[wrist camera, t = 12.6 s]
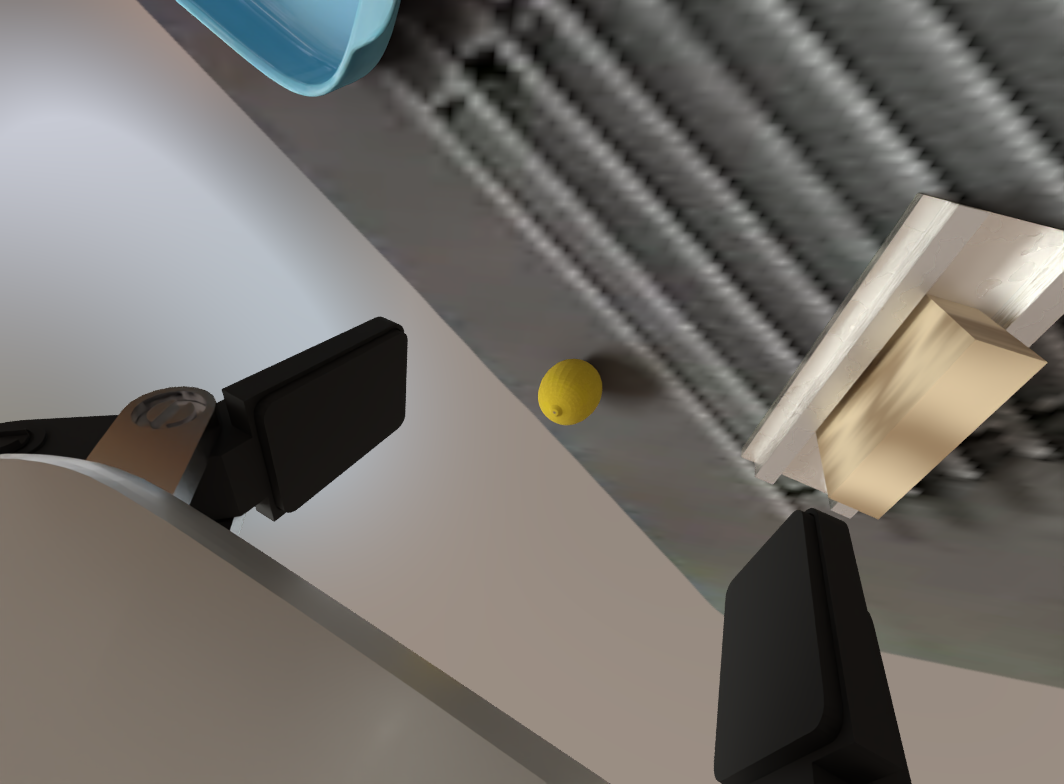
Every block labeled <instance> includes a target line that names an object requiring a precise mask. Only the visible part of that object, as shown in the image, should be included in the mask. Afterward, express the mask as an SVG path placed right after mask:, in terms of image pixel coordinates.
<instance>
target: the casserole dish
mask: <svg viewBox="0 0 1064 784" xmlns="http://www.w3.org/2000/svg"><path fill="white" fill-rule="evenodd" d="M176 1H177V2H178V3H179V4H180V5H182V6H183V7H184V8H185V9H186V10H188V11H189V12H190V13H191V14H192V15H193V16H195V17H196V18H197V19H198V20H199V21H201V22H202V23H203V24H204V25H205V26H206V27H208V28H209V29H210V30H211V31H212V32H213V33H215V34H216V35H217V36H218V37H219V38H221V39H222V40H223V41H224V42H225V43H227V44H228V45H229V46H230V47H231V48H233V49H234V50H235V51H236V52H237V53H238V54H240V55H241V56H242V57H243V58H245V59H246V60H247V61H248V62H250V63H251V64H252V65H253V66H255V67H256V68H257V69H258V70H260V71H261V72H262V73H264V74H265V75H266V76H268V77H269V78H271V79H272V80H274V81H275V82H277V83H278V84H280V85H281V86H283V87H285V88H287V89H288V90H290V91H292V92H295V93H297V94H301V95H304V96H322V95H325V94H327V93H330V92H332V91H334V90H337V89H339V88H341V87H344V86H346V85H348V84H351V83H353V82H355V81H357V80H358V79H360V78H362V77H364V76H365V75H367V74H368V73H369V72H370V71H371V70H372V69H373V68H374V67H375V66H376V65H377V63H378V62H379V61H380V59H381V57H382V56H383V54H384V52H385V50H386V48H387V45H388V43H389V40H390V38H391V35H392V32H393V28H394V25H395V21H396V17H397V14H398V10H399V6H400V2H401V0H176Z"/></svg>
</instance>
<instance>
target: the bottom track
mask: <svg viewBox="0 0 1064 784" xmlns="http://www.w3.org/2000/svg"><path fill="white" fill-rule="evenodd" d="M925 294H929V295H932V296H936V297H939V298H942V299H946V300H949V301H952V302H956V303H959V304H962V305H966V306H969V307H972V308H976V309H979V310H980V311H981V312H983V313H984V314H985V315H987V316H988V317H989V318H991V319H992V320H993V321H994V322H996V323H997V324H998V325H1000V326H1001V327H1002V328H1004V329H1005V330H1006V331H1007V332H1009V333H1010V334H1011V335H1013V336H1014V337H1015V338H1017V339H1018V340H1019V341H1020V342H1022V343H1023V344H1024V345H1026V346H1027V347H1028V348H1029V347H1030V346H1031V345H1032V344H1033V343H1034V342H1035V341H1036V340H1037V339H1038V338H1039V337H1040V336H1041V335H1042V334H1043V333H1044V332H1045V331H1046V330H1047V329H1048V328H1049V327H1051V326H1052V325H1053V324H1054V323H1055V322H1056V321H1057V320H1058V319H1059V318H1060V317H1061V316H1062V315H1063V314H1064V231H1063V230H1059V229H1055V228H1051V227H1048V226H1044V225H1040V224H1036V223H1032V222H1028V221H1024V220H1021V219H1017V218H1013V217H1009V216H1005V215H1001V214H997V213H993V212H990V211H986V210H982V209H978V208H974V207H970V206H966V205H963V204H959V203H955V202H951V201H947V200H943V199H939V198H935V197H932V196H928V195H924V194H920V193H917V194H916V196H915V197H914V199H913V200H912V202H911V203H910V204H909V206H908V207H907V209H906V210H905V212H904V213H903V215H902V216H901V218H900V219H899V220H898V222H897V223H896V225H895V226H894V228H893V229H892V231H891V232H890V234H889V235H888V236H887V238H886V239H885V241H884V242H883V244H882V245H881V247H880V248H879V250H878V251H877V253H876V254H875V255H874V257H873V258H872V260H871V261H870V263H869V264H868V266H867V267H866V269H865V270H864V271H863V273H862V274H861V276H860V277H859V279H858V280H857V282H856V283H855V285H854V286H853V287H852V289H851V290H850V292H849V293H848V295H847V296H846V298H845V299H844V301H843V302H842V304H841V305H840V306H839V308H838V309H837V311H836V312H835V314H834V315H833V317H832V318H831V320H830V321H829V322H828V324H827V325H826V327H825V328H824V330H823V331H822V333H821V334H820V336H819V337H818V338H817V340H816V341H815V343H814V344H813V346H812V347H811V349H810V350H809V352H808V353H807V355H806V356H805V357H804V359H803V360H802V362H801V363H800V365H799V366H798V368H797V369H796V371H795V372H794V373H793V375H792V376H791V378H790V379H789V381H788V382H787V384H786V385H785V387H784V388H783V389H782V391H781V392H780V394H779V395H778V397H777V398H776V400H775V401H774V403H773V404H772V406H771V407H770V408H769V410H768V411H767V413H766V414H765V416H764V417H763V419H762V420H761V422H760V423H759V424H758V426H757V427H756V429H755V430H754V432H753V433H752V435H751V436H750V438H749V439H748V441H747V442H746V443H745V445H744V446H743V448H742V453H741V457H743V458H746V459H748V460H750V461H753V462H755V477H757V478H759V479H761V480H764V481H766V482H768V483H771V484H774V482H775V481H776V480H777V479H778V478H779V476H780V475H781V474H783V475H785V476H787V477H790V478H792V479H794V480H797V481H799V482H801V483H804V484H806V485H808V486H811V487H813V488H815V489H817V490H820V491H822V492H824V493H827V494H828V492H827V487H826V482H825V477H824V472H823V467H822V462H821V457H820V452H819V447H818V442H817V437H816V431H817V429H818V428H819V427H820V426H821V424H822V423H823V422H824V421H825V419H826V418H827V417H828V416H829V414H830V413H831V412H832V410H833V409H834V408H835V407H836V405H837V404H838V403H839V402H840V400H841V399H842V398H843V396H844V395H845V394H846V393H847V391H848V390H849V389H850V388H851V386H852V385H853V384H854V383H855V381H856V380H857V379H858V378H859V377H860V375H861V374H862V373H863V372H864V370H865V369H866V368H867V367H868V365H869V364H870V363H871V362H872V360H873V359H874V358H875V357H876V355H877V354H878V353H879V352H880V350H881V349H882V348H883V347H884V345H885V344H886V343H887V342H888V340H889V339H890V338H891V337H892V335H893V334H894V333H895V332H896V330H897V329H898V328H899V327H900V325H901V324H902V323H903V322H904V320H905V319H906V318H907V317H908V315H909V314H910V313H911V312H912V310H913V309H914V308H915V307H916V305H917V304H918V303H919V302H920V300H921V299H922V298H923V297H924V295H925ZM828 499H829V504H830V509H831V510H832V511H834V512H836V513H839V514H841V515H843V516H846V517H848V518H851V517H852V516H853V515H855V514H856V513H857V512H858V510H856V509H853V508H851V507H849V506H846V505H844V504H842V503H839V502H837V501H835V500H832V499H830V498H829V497H828Z"/></svg>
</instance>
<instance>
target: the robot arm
mask: <svg viewBox="0 0 1064 784" xmlns="http://www.w3.org/2000/svg"><path fill="white" fill-rule="evenodd" d="M407 342H408V340H407V335H406V334H405V333H404V329H403V327H402V326H401V325H399V324H397V323H395V322H392V321H390V320H388V319H386V318H383V317H376V318H374V319H372V320H369V321H367V322H365V323H363V324H361V325H359V326H357V327H354V328H352V329H350V330H348V331H346V332H344V333H341V334H340V335H337V336H335V337H333V338H331V339H329V340H326V341H324V342H322V343H320V344H318V345H316V346H314V347H311V348H309V349H307V350H305V351H303V352H301V353H299V354H296V355H294V356H292V357H290V358H288V359H286V360H283V361H281V362H279V363H277V364H275V365H273V366H271V367H268V368H266V369H264V370H262V371H260V372H258V373H256V374H253V375H251V376H249V377H247V378H245V379H243V380H240V381H238V382H236V383H234V384H232V385H230V386H228V387H225V388H223V389H222V392H223V395H224V400H222V401H220V402H218V403H216V401H215V398H214V396H213V395H212V394H210V393H209V392H208V391H206V390H203V389H199V388H195V387H185V386H183V387H170V388H165V389H160V390H155V391H153V392H150V393H147V394H145V395H142V396H140V397H138V398H137V399H135V400H133V401H131V402H130V403H129V404H128V405H127V406H126V407H125V408H124V409H123V410H122V411H121V413H120V414H119V415H109V416H90V417H74V418H73V417H72V418H55V419H54V418H53V419H35V420H20V421H12V422H5V423H0V784H610V783H608V782H607V781H605V780H604V779H602V778H601V777H600V776H598V775H597V774H595V773H594V772H592V771H591V770H589V769H587V768H586V767H585V766H583V765H582V764H580V763H579V762H577V761H576V760H574V759H573V758H571V757H570V756H568V755H567V754H565V753H564V752H562V751H561V750H559V749H558V748H556V747H555V746H553V745H552V744H550V743H549V742H547V741H546V740H544V739H543V738H541V737H540V736H538V735H537V734H535V733H534V732H532V731H531V730H530V729H528V728H527V727H525V726H523V725H522V724H521V723H519V722H517V721H516V720H515V719H513V718H511V717H510V716H509V715H507V714H506V713H504V712H503V711H501V710H500V709H498V708H497V707H495V706H494V705H492V704H491V703H489V702H488V701H486V700H485V699H483V698H482V697H480V696H479V695H477V694H476V693H474V692H473V691H471V690H470V689H468V688H467V687H465V686H464V685H462V684H461V683H459V682H458V681H456V680H455V679H453V678H452V677H450V676H449V675H447V674H446V673H444V672H443V671H441V670H440V669H438V668H437V667H435V666H434V665H432V664H431V663H429V662H428V661H426V660H425V659H423V658H422V657H420V656H419V655H417V654H416V653H414V652H413V651H411V650H410V649H408V648H407V647H405V646H404V645H402V644H401V643H399V642H398V641H396V640H395V639H393V638H392V637H390V636H389V635H387V634H386V633H384V632H383V631H381V630H379V629H378V628H377V627H375V626H374V625H372V624H370V623H369V622H368V621H366V620H365V619H363V618H361V617H360V616H358V615H357V614H356V613H354V612H353V611H351V610H350V609H348V608H347V607H345V606H343V605H342V604H340V603H339V602H337V601H336V600H334V599H333V598H331V597H330V596H328V595H327V594H325V593H324V592H322V591H321V590H319V589H318V588H316V587H315V586H313V585H312V584H310V583H309V582H307V581H306V580H304V579H303V578H301V577H299V576H298V575H296V574H295V573H293V572H292V571H290V570H289V569H287V568H286V567H284V566H283V565H281V564H280V563H278V562H277V561H275V560H274V559H272V558H271V557H269V556H268V555H266V554H264V553H263V552H261V551H260V550H258V549H257V548H255V547H254V546H252V545H251V544H249V543H248V542H246V541H245V540H243V539H242V538H240V537H239V534H240V531H241V528H242V525H243V521H244V518H245V515H246V512H248V511H249V510H250V509H252V508H253V507H256V510H257V511H258V512H260V513H261V514H263V515H264V516H266V517H268V518H269V519H271V520H272V521H276V520H277V519H278V518H280V517H281V516H282V515H284V514H285V513H286V512H287V513H289V512H293V511H295V510H297V509H298V508H300V507H301V506H302V505H303V504H304V503H306V502H307V501H308V500H309V499H311V498H312V497H313V496H314V495H315V494H317V493H318V492H319V491H321V490H322V489H323V488H324V487H326V486H327V485H328V484H329V483H331V482H332V481H333V480H334V479H335V478H337V477H338V476H339V475H341V474H342V473H343V472H344V471H346V470H347V469H348V468H349V467H350V466H352V465H353V464H354V463H356V462H357V461H358V460H359V459H361V458H362V457H363V456H364V455H366V454H367V453H368V452H369V451H371V450H372V449H373V448H374V447H375V446H377V445H378V444H379V443H380V442H382V441H383V440H384V439H385V438H387V437H388V436H389V435H391V434H392V433H393V432H394V431H395V430H397V429H398V428H399V427H400V426H401V424H402V423H403V421H404V418H405V403H406V373H407ZM723 630H724V631H723V643H722V658H721V671H720V686H719V700H718V714H717V729H716V742H715V756H714V774H715V778H716V780H717V781H719V782H720V783H722V784H912V783H911V779H910V775H909V771H908V767H907V762H906V759H905V754H904V750H903V746H902V741H901V737H900V733H899V729H898V725H897V721H896V716H895V712H894V708H893V704H892V699H891V695H890V691H889V687H888V683H887V679H886V674H885V670H884V666H883V662H882V658H881V653H880V649H879V645H878V641H877V637H876V632H875V628H874V624H873V621H872V618H871V616H870V613H869V612H868V611H867V607H866V602H865V598H864V594H863V589H862V585H861V581H860V577H859V572H858V568H857V564H856V559H855V555H854V551H853V546H852V542H851V538H850V534H849V529H848V526H847V524H846V523H845V522H844V521H842V520H839V519H837V518H835V517H832V516H830V515H828V514H826V513H823V512H821V511H819V510H817V509H814V508H810V509H808V510H806V511H805V512H803V511H801V510H796V511H794V512H793V513H792V514H791V515H790V516H789V518H788V519H787V520H786V521H785V522H784V523H783V524H782V525H781V527H780V528H779V529H778V530H777V531H776V532H775V533H774V534H773V535H772V537H771V538H770V539H769V540H768V541H767V542H766V543H765V544H764V545H763V547H762V548H761V549H760V550H759V551H758V552H757V553H756V554H755V556H754V557H753V558H752V559H751V560H750V561H749V562H748V563H747V564H746V566H745V567H744V568H743V569H742V570H741V571H740V572H739V573H738V575H737V576H736V577H735V578H734V579H733V580H732V582H731V583H730V585H729V587H728V590H727V593H726V600H725V614H724V629H723Z"/></svg>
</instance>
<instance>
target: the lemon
mask: <svg viewBox="0 0 1064 784" xmlns="http://www.w3.org/2000/svg"><path fill="white" fill-rule="evenodd" d="M601 395H602V381H601V378H600V375H599V374H598V372H597V370H596V369H595V368H594V367H593V366H592V365H591V364H589V363H588V362H586V361H583V360H580V359H567V360H564V361H561V362H559V363H557V364H556V365H554V366H553V367H552V368H551V369H549V370H548V372H547V373H546V375H545V376H544V378H543V379H542V381H541V384H540V388H539V391H538V401H539V405H540V408H541V410H542V412H543V413H544V414H545V415H546V417H548V418H549V419H550V420H551V421H553V422H555V423H558V424H561V425H572V424H576V423H578V422H581V421H583V420H584V419H586V418H587V417H588V416H589V415H590V414H591V413H592V412H593V411H594V410H595V409H596V407H597V405H598V404H599V402H600V399H601Z"/></svg>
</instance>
